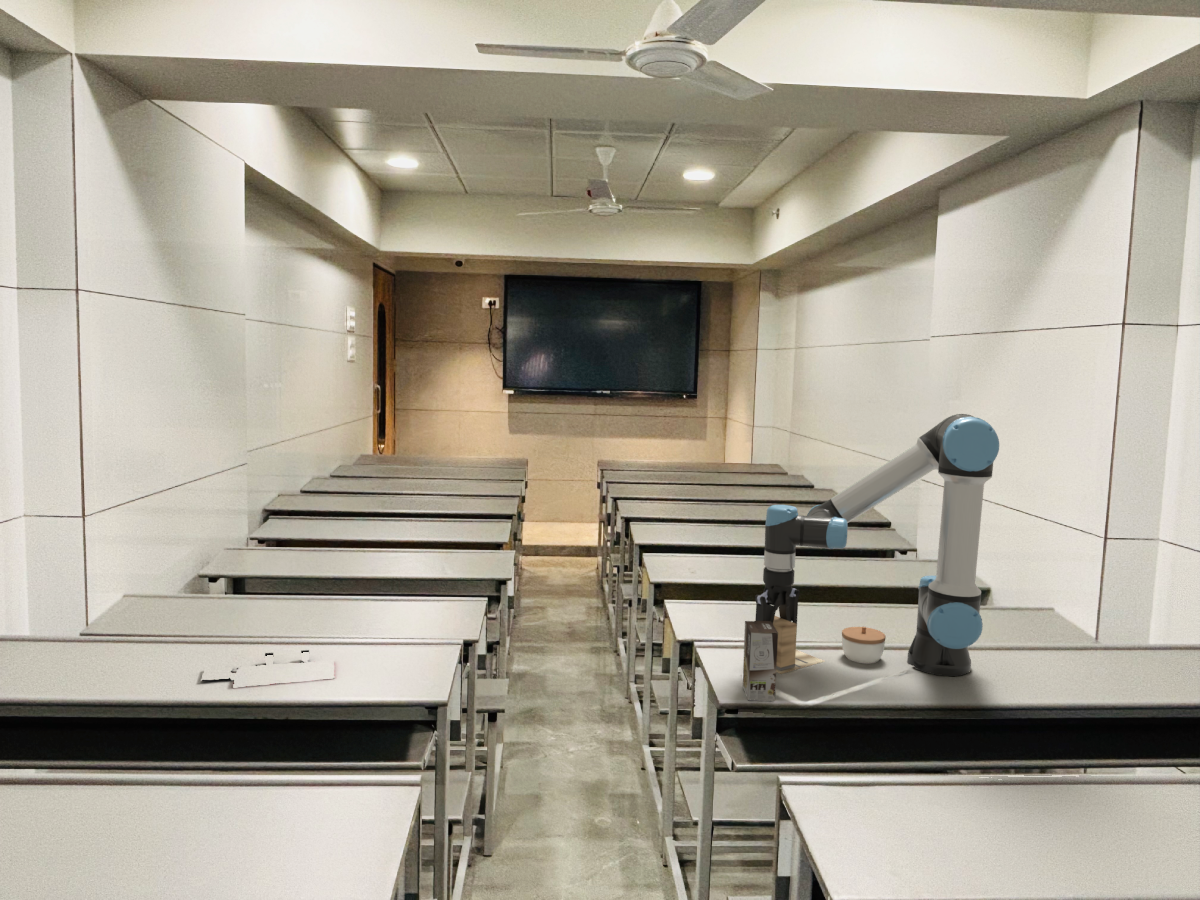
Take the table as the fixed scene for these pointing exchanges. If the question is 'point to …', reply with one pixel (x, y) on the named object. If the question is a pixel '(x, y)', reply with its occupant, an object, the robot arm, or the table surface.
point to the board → (802, 662)
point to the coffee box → (760, 660)
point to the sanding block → (785, 643)
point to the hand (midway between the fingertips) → (774, 658)
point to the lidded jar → (863, 644)
